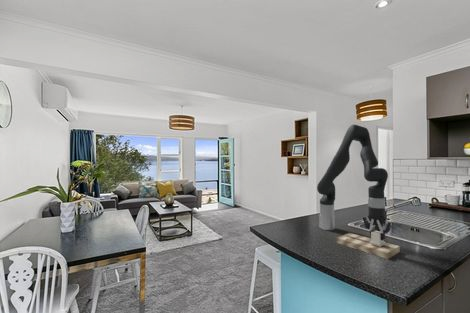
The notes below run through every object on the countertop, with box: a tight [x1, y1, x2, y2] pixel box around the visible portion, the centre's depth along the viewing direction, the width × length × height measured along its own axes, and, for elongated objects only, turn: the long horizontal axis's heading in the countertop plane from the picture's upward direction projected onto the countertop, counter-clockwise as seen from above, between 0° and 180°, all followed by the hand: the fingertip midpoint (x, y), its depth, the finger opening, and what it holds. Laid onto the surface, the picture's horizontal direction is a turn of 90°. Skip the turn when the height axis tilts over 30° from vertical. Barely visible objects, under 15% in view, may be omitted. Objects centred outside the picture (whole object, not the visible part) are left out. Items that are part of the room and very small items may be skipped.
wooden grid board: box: [336, 232, 401, 260], centre depth 121 cm, size 26×14×3 cm, turn 34°
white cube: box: [370, 230, 386, 247], centre depth 116 cm, size 5×6×6 cm
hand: (377, 238), depth 116 cm, fingers closed on white cube, 4 cm apart
